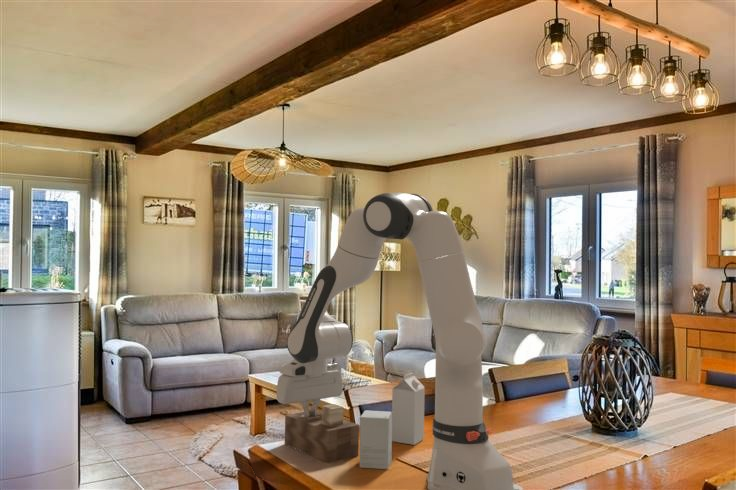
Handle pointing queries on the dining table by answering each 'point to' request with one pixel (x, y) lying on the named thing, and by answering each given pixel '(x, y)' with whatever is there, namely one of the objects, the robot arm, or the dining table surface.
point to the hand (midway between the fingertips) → (310, 416)
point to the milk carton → (408, 411)
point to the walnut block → (322, 437)
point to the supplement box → (375, 439)
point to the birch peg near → (332, 415)
